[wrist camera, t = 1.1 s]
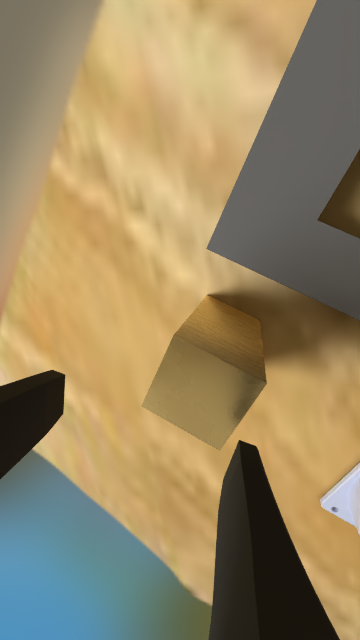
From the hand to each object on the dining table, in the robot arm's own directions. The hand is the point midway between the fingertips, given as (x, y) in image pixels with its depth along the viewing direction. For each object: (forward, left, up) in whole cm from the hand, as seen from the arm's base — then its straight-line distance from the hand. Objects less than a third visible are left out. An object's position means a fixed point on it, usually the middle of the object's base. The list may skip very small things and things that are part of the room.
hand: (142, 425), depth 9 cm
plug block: (-1, -1, -10) cm, 10 cm away
